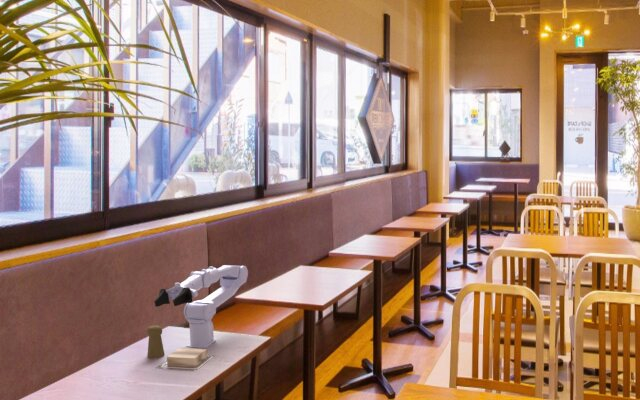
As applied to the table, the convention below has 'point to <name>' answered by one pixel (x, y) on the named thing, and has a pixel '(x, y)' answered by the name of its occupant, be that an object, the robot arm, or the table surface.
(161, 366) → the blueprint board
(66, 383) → the table surface
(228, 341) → the table surface
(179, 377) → the table surface
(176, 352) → the birch block
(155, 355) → the cork
